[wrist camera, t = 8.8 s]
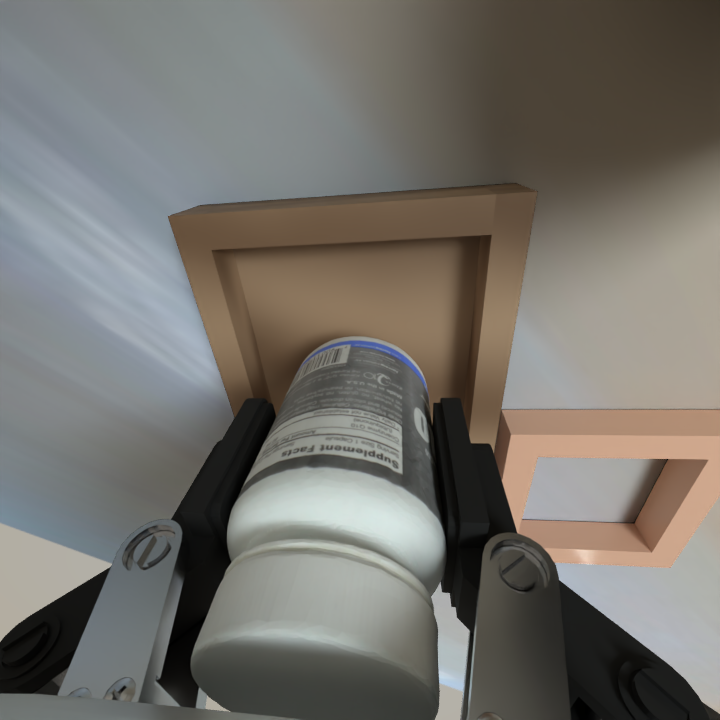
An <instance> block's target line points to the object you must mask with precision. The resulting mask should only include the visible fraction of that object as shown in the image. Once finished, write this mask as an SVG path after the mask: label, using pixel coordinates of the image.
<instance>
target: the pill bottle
mask: <svg viewBox="0 0 720 720" xmlns="http://www.w3.org/2000/svg"><path fill="white" fill-rule="evenodd" d="M227 546H228V552H229V556H230V559H231V564H230V565H229V567H228V568H227V570H226V572H225V575H224V578H223V580H222V582H221V583H220V585H219V587H218V589H217V591H216V594H215V597H214V599H213V602H212V604H211V607H210V609H209V612H208V614H207V617H206V619H205V622H204V624H203V626H202V629H201V631H200V634H199V636H198V638H197V641H196V643H195V646H194V649H193V653H192V656H191V665H190V666H191V672H192V676H193V678H194V680H195V681H196V683H197V685H198V686H199V687H200V688H201V690H202V691H203V692H205V693H206V694H207V695H208V696H209V697H210V698H211V699H212V700H214V701H215V702H217V703H218V704H219V705H221V706H222V707H223V708H225V709H227V710H229V711H231V712H237V713H246V714H256V715H265V716H275V717H285V718H294V719H304V720H435V717H436V715H437V713H438V707H439V692H440V691H439V673H438V646H437V644H438V627H437V622H436V619H435V616H434V607H433V603H432V599H431V596H432V595H433V593H434V592H435V590H436V589H437V587H438V585H439V583H440V582H441V580H442V577H443V574H444V571H445V565H446V557H447V549H446V533H445V524H444V515H443V509H442V502H441V495H440V488H439V479H438V473H437V462H436V454H435V443H434V436H433V427H432V421H431V413H430V404H429V395H428V390H427V384H426V381H425V378H424V375H423V373H422V371H421V370H420V368H419V366H418V365H417V364H416V363H415V361H414V360H413V359H412V358H411V357H410V356H409V355H408V354H407V353H405V352H404V351H403V350H402V349H400V348H399V347H397V346H395V345H393V344H391V343H388V342H386V341H383V340H380V339H376V338H370V337H364V336H350V337H342V338H337V339H334V340H331V341H329V342H327V343H325V344H323V345H321V346H320V347H318V348H317V349H315V350H314V351H313V352H312V353H311V354H309V355H308V357H307V358H306V359H305V360H304V361H303V363H302V364H301V366H300V368H299V370H298V372H297V373H296V375H295V378H294V380H293V382H292V384H291V386H290V388H289V390H288V392H287V394H286V396H285V399H284V401H283V403H282V405H281V408H280V410H279V412H278V414H277V417H276V419H275V421H274V423H273V425H272V427H271V429H270V431H269V434H268V436H267V438H266V440H265V442H264V444H263V446H262V448H261V450H260V452H259V454H258V456H257V458H256V461H255V463H254V465H253V467H252V469H251V471H250V473H249V475H248V477H247V479H246V481H245V483H244V485H243V488H242V490H241V492H240V494H239V496H238V498H237V500H236V502H235V503H234V505H233V507H232V510H231V514H230V518H229V523H228V528H227Z"/></svg>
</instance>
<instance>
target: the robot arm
mask: <svg viewBox="0 0 720 720" xmlns="http://www.w3.org/2000/svg"><path fill="white" fill-rule="evenodd" d="M275 419H276V414H275V410H274V406H273V404H272V403H268V401H267V400H266V399H265V398H248V399H246V400H245V401H244V403H243V405H242V406H241V408H240V410H239V412H238V413H237V415H236V417H235V418H234V420H233V422H232V424H231V425H230V427H229V429H228V431H227V432H226V434H225V436H224V437H223V439H222V440H221V441H219V442H217V444H216V445H215V446H214V448H213V450H212V451H211V453H210V455H209V456H208V458H207V460H206V461H205V463H204V465H203V467H202V468H201V470H200V472H199V473H198V475H197V477H196V478H195V480H194V482H193V483H192V485H191V487H190V489H189V490H188V492H187V494H186V495H185V497H184V499H183V500H182V502H181V504H180V505H179V507H178V509H177V510H176V512H175V514H174V516H173V517H172V519H171V520H169V519H160V520H156V521H153V522H149V523H147V524H146V525H144V526H142V527H140V528H138V529H137V530H136V531H135V532H133V533H132V534H131V535H130V536H129V537H128V538H127V539H126V540H125V541H124V542H123V544H122V545H121V547H120V549H119V550H118V552H117V554H116V556H115V559H114V561H113V564H112V566H111V567H110V568H108V569H106V570H105V571H103V572H102V573H100V574H98V575H97V576H95V577H93V578H92V579H90V580H88V581H87V582H85V583H84V584H82V585H80V586H78V587H77V588H75V589H73V590H72V591H70V592H68V593H67V594H65V595H64V596H62V597H60V598H59V599H57V600H55V601H54V602H52V603H50V604H49V605H47V606H45V607H44V608H42V609H40V610H39V611H37V612H35V613H34V614H32V615H31V616H29V617H28V618H26V619H25V620H23V621H22V622H21V623H19V624H18V625H17V626H15V627H14V628H13V629H12V630H11V631H10V632H9V633H8V634H7V635H6V636H5V637H4V638H3V639H2V641H1V642H0V720H304V719H294V718H285V717H275V716H265V715H256V714H246V713H237V712H227V711H217V710H207V709H205V706H206V699H207V694H206V693H205V692H203V691H202V690H201V688H200V687H199V686H198V685H197V683H196V681H195V680H194V678H193V676H192V672H191V666H190V665H191V656H192V653H193V649H194V646H195V643H196V641H197V638H198V636H199V634H200V631H201V629H202V626H203V624H204V622H205V619H206V617H207V614H208V612H209V609H210V607H211V604H212V602H213V599H214V597H215V594H216V591H217V589H218V587H219V585H220V583H221V582H222V580H223V578H224V575H225V572H226V570H227V568H228V567H229V565H230V564H231V559H230V556H229V552H228V546H227V528H228V523H229V518H230V514H231V510H232V507H233V505H234V503H235V502H236V500H237V498H238V496H239V494H240V492H241V490H242V488H243V485H244V483H245V481H246V479H247V477H248V475H249V473H250V471H251V469H252V467H253V465H254V463H255V461H256V458H257V456H258V454H259V452H260V450H261V448H262V446H263V444H264V442H265V440H266V438H267V436H268V434H269V431H270V429H271V427H272V425H273V423H274V421H275ZM432 427H433V436H434V443H435V454H436V462H437V473H438V479H439V488H440V495H441V502H442V509H443V515H444V524H445V533H446V549H447V557H446V565H445V571H444V574H443V577H442V580H441V588H442V592H444V593H450V598H451V607H456V613H457V618H458V619H459V620H460V621H461V622H462V623H463V624H464V625H465V626H466V627H467V628H468V629H469V636H468V646H467V657H466V667H465V677H464V687H463V698H462V708H461V719H460V720H720V714H719V713H717V712H716V711H714V710H713V709H711V708H710V707H708V706H707V705H705V704H704V703H703V702H701V700H700V698H699V696H698V695H697V694H696V693H695V691H694V690H693V689H692V687H691V686H690V685H689V684H688V682H687V681H686V680H685V679H684V678H683V677H682V676H681V675H680V674H679V673H678V672H676V671H675V670H674V669H673V668H672V667H671V666H670V665H669V664H667V663H666V662H665V661H663V660H662V659H661V658H659V657H658V656H657V655H656V654H654V653H653V652H652V651H650V650H649V649H648V648H646V647H645V646H644V645H643V644H641V643H640V642H639V641H637V640H636V639H635V638H633V637H632V636H631V635H630V634H628V633H627V632H626V631H624V630H623V629H622V628H620V627H619V626H618V625H617V624H615V623H614V622H613V621H611V620H610V619H609V618H607V617H606V616H605V615H604V614H602V613H601V612H600V611H598V610H597V609H596V608H594V607H593V606H592V605H591V604H589V603H588V602H587V601H585V600H584V599H583V598H581V597H580V596H579V595H578V594H576V593H575V592H574V591H572V590H571V589H570V588H568V587H567V586H566V585H565V584H563V583H562V582H561V581H559V577H558V573H557V569H556V565H555V563H554V562H553V560H552V558H551V556H550V555H549V554H548V552H547V551H546V550H545V549H544V548H543V547H542V546H541V545H540V544H538V543H537V542H535V541H534V540H532V539H531V538H529V537H526V536H523V535H521V534H518V533H517V530H516V527H515V523H514V520H513V517H512V513H511V510H510V506H509V503H508V500H507V496H506V493H505V490H504V486H503V483H502V480H501V476H500V473H499V470H498V466H497V463H496V459H495V456H494V453H493V450H492V447H491V445H490V444H489V443H471V441H470V437H469V433H468V429H467V424H466V420H465V416H464V411H463V407H462V403H461V399H460V398H441V399H440V403H433V422H432Z"/></svg>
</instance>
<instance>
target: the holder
mask: <svg viewBox="0 0 720 720" xmlns="http://www.w3.org/2000/svg"><path fill="white" fill-rule="evenodd" d="M494 456H495V459H496V463H497V466H498V470H499V473H500V476H501V480H502V483H503V486H504V490H505V493H506V496H507V500H508V503H509V506H510V510H511V513H512V517H513V520H514V523H515V527H516V530H517V533H518V534H521V535H523V536H526V537H529V538H531V539H532V540H534V541H535V542H537V543H538V544H540V545H541V546H542V547H543V548H544V549H545V550H546V551H547V552H548V554H549V555H550V556H551V558H552V560H553V562H554V563H576V564H597V565H619V566H640V567H662V568H671V566H672V565H673V563H674V562H675V560H676V559H677V557H678V556H679V555H680V553H681V552H682V550H683V549H684V547H685V546H686V544H687V543H688V541H689V540H690V538H691V537H692V535H693V534H694V533H695V531H696V530H697V528H698V527H699V525H700V524H701V522H702V521H703V519H704V518H705V516H706V515H707V514H708V512H709V511H710V509H711V508H712V506H713V505H714V503H715V502H716V500H717V499H718V497H719V496H720V410H502V411H501V417H500V423H499V428H498V434H497V440H496V446H495V452H494ZM538 457H569V458H638V459H668V461H667V462H666V464H665V466H664V468H663V470H662V472H661V474H660V476H659V478H658V480H657V481H656V483H655V485H654V487H653V489H652V491H651V493H650V495H649V497H648V498H647V500H646V502H645V504H644V506H643V508H642V510H641V512H640V514H639V516H638V517H637V519H636V521H635V523H634V524H632V523H602V522H573V521H544V520H522V517H523V513H524V509H525V505H526V501H527V498H528V494H529V490H530V486H531V482H532V478H533V474H534V470H535V467H536V463H537V459H538Z"/></svg>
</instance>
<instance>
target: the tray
mask: <svg viewBox="0 0 720 720" xmlns="http://www.w3.org/2000/svg"><path fill="white" fill-rule="evenodd" d="M537 192H538V191H535V190H532V189H530V188H527V187H525V186H522V185H519V184H517V183H509V184H495V185H481V186H466V187H452V188H438V189H424V190H409V191H395V192H381V193H367V194H352V195H338V196H324V197H309V198H295V199H281V200H267V201H252V202H238V203H224V204H210V205H200V206H197V207H194V208H191V209H188V210H185V211H182V212H179V213H176V214H173V215H170V216H168V218H169V221H170V224H171V227H172V230H173V233H174V236H175V239H176V243H177V246H178V249H179V252H180V255H181V258H182V261H183V264H184V267H185V270H186V273H187V276H188V279H189V282H190V285H191V288H192V291H193V294H194V297H195V300H196V303H197V306H198V309H199V312H200V315H201V318H202V321H203V324H204V327H205V330H206V333H207V336H208V339H209V342H210V345H211V348H212V351H213V354H214V357H215V360H216V363H217V366H218V369H219V372H220V375H221V378H222V381H223V384H224V387H225V390H226V393H227V396H228V399H229V402H230V405H231V408H232V411H233V414H234V417H236V415H237V413H238V412H239V410H240V408H241V406H242V405H243V403H244V401H245V400H246V399H248V398H265V399H266V400H267V401H268V403H272V404H273V406H274V410H275V414H276V417H277V414H278V412H279V410H280V408H281V405H282V403H283V401H284V399H285V396H286V394H287V392H288V390H289V388H290V386H291V384H292V382H293V380H294V378H295V375H296V373H297V372H298V370H299V368H300V366H301V364H302V363H303V361H304V360H305V359H306V358H307V357H308V355H309V354H311V353H312V352H313V351H314V350H315V349H317V348H318V347H320V346H321V345H323V344H325V343H327V342H329V341H331V340H334V339H337V338H342V337H350V336H364V337H370V338H376V339H380V340H383V341H386V342H388V343H391V344H393V345H395V346H397V347H399V348H400V349H402V350H403V351H404V352H405V353H407V354H408V355H409V356H410V357H411V358H412V359H413V360H414V361H415V363H416V364H417V365H418V366H419V368H420V370H421V371H422V373H423V375H424V378H425V381H426V384H427V390H428V395H429V404H430V413H431V421H432V422H433V403H440V399H441V398H460V399H461V403H462V407H463V411H464V416H465V420H466V424H467V429H468V433H469V437H470V441H471V443H489V444H490V445H491V447H492V450H493V453H494V449H495V443H496V437H497V431H498V425H499V419H500V413H501V407H502V401H503V395H504V389H505V383H506V377H507V371H508V365H509V359H510V353H511V347H512V341H513V335H514V329H515V323H516V317H517V311H518V305H519V300H520V294H521V288H522V282H523V276H524V270H525V264H526V258H527V252H528V246H529V240H530V234H531V228H532V222H533V216H534V210H535V204H536V198H537Z"/></svg>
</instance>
